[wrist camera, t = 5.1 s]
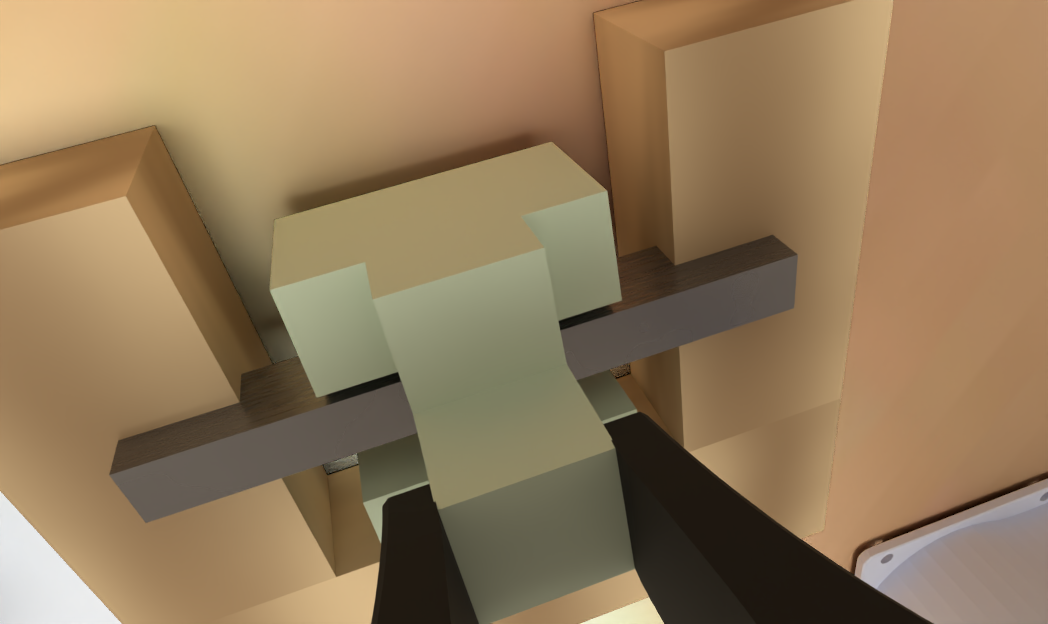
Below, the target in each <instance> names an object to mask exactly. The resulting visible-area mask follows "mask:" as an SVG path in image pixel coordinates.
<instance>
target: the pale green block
mask: <svg viewBox="0 0 1048 624" xmlns="http://www.w3.org/2000/svg"><path fill="white" fill-rule="evenodd" d="M270 292H271V295H272V297H273V299H274V302H275V304H276V306H277V308H278V311H279V313H280V315H281V317H282V320H283V322H284V324H285V327H286V329H287V331H288V333H289V336H290V338H291V340H292V342H293V345H294V347H295V349H296V352H297V354H298V356H299V358H300V361H301V363H302V365H303V367H304V370H305V372H306V374H307V377H308V379H309V381H310V383H311V386H312V388H313V390H314V393H315V395H316V397H321V396H324V395H327V394H330V393H333V392H336V391H339V390H342V389H346V388H349V387H352V386H355V385H358V384H361V383H364V382H368V381H371V380H374V379H377V378H380V377H383V376H386V375H390V374H393V373H396V372H398V373H399V376H400V379H401V382H402V384H403V387H404V390H405V393H406V396H407V399H408V401H409V404H410V407H411V410H412V413H413V416H414V420H415V425H416V429H417V433H416V434H413V435H410V436H407V437H404V438H401V439H398V440H395V441H392V442H389V443H386V444H383V445H380V446H377V447H374V448H371V449H368V450H365V451H362V452H359V453H357V455H358V464H359V472H360V481H361V490H362V498H363V504H364V506H365V508H366V511H367V513H368V515H369V518H370V520H371V522H372V524H373V527H374V529H375V531H376V533H377V536H378V538H379V540H380V543H381V538H382V506H383V504H384V503H385V502H386V500H387V499H388V498H389V497H392V496H395V495H398V494H401V493H404V492H407V491H409V490H412V489H415V488H418V487H421V486H424V485H427V484H430V488H431V492H432V497H433V501H434V502H435V501H436V505H437V509H438V512H439V515H440V518H441V520H442V523H443V526H444V529H445V531H446V534H447V537H448V540H449V542H450V545H451V548H452V551H453V553H454V556H455V559H456V562H457V564H458V567H459V570H460V573H461V575H462V578H463V581H464V584H465V586H466V589H467V592H468V595H469V597H470V600H471V603H472V606H473V608H474V611H475V614H476V617H477V619H478V622H479V624H490V623H493V622H496V621H498V620H501V619H504V618H506V617H509V616H512V615H514V614H517V613H520V612H522V611H525V610H528V609H530V608H533V607H536V606H538V605H541V604H544V603H546V602H549V601H552V600H554V599H557V598H560V597H562V596H565V595H568V594H570V593H573V592H575V591H578V590H581V589H583V588H586V587H589V586H591V585H594V584H597V583H599V582H602V581H605V580H607V579H610V578H613V577H615V576H618V575H621V574H623V573H626V572H629V571H631V570H634V569H635V566H634V560H633V554H632V548H631V541H630V535H629V529H628V523H627V517H626V511H625V504H624V498H623V492H622V486H621V480H620V473H619V467H618V461H617V455H616V449H615V447H614V445H613V443H612V442H611V440H612V438H611V436H610V435H609V433H608V431H607V430H606V428H605V427H604V425H603V424H605V423H608V422H611V421H614V420H617V419H619V418H622V417H625V416H628V415H631V414H634V413H637V409H636V407H635V406H634V404H633V403H632V402H631V400H630V399H629V397H628V396H627V394H626V393H625V391H624V390H623V389H622V387H621V386H620V384H619V383H618V381H617V380H616V378H615V377H614V375H613V374H612V373H611V371H610V370H606V371H603V372H600V373H597V374H594V375H591V376H588V377H585V378H582V379H579V380H576V378H575V377H574V375H573V373H572V372H571V370H570V369H569V367H568V365H567V363H566V357H565V352H564V347H563V342H562V337H561V332H560V327H559V320H562V319H565V318H568V317H571V316H575V315H578V314H581V313H584V312H587V311H590V310H593V309H597V308H600V307H603V306H606V305H609V304H612V303H615V302H619V301H622V296H621V289H620V282H619V274H618V267H617V259H616V252H615V245H614V237H613V230H612V222H611V215H610V208H609V200H608V193H607V190H606V189H605V188H604V187H603V186H601V185H600V184H599V183H598V182H597V181H596V180H595V179H594V178H592V177H591V176H590V175H589V174H588V173H587V172H586V171H584V170H583V169H582V168H581V167H580V166H579V165H578V164H577V163H575V162H574V161H573V160H572V159H571V158H570V157H569V156H568V155H566V154H565V153H564V152H563V151H562V150H561V149H560V148H559V147H557V146H556V145H555V144H554V143H553V142H548V143H545V144H541V145H538V146H534V147H531V148H527V149H523V150H520V151H516V152H513V153H509V154H506V155H502V156H499V157H495V158H492V159H488V160H484V161H481V162H477V163H474V164H470V165H467V166H463V167H460V168H456V169H452V170H449V171H445V172H442V173H438V174H435V175H431V176H428V177H424V178H421V179H417V180H413V181H410V182H406V183H403V184H399V185H396V186H392V187H389V188H385V189H381V190H378V191H374V192H371V193H367V194H364V195H360V196H357V197H353V198H349V199H346V200H342V201H339V202H335V203H332V204H328V205H325V206H321V207H318V208H314V209H310V210H307V211H303V212H300V213H296V214H293V215H289V216H286V217H282V218H278V219H275V220H274V232H273V247H272V261H271V276H270Z"/></svg>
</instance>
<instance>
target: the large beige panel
mask: <svg viewBox="0 0 1048 624" xmlns="http://www.w3.org/2000/svg"><path fill="white" fill-rule="evenodd" d="M893 1H894V0H642V1H638V2H634V3H630V4H626V5H622V6H618V7H614V8H611V9H607V10H603V11H599V12H595V13H593V15H594V24H595V34H596V43H597V53H598V63H599V72H600V82H601V91H602V101H603V111H604V120H605V130H606V139H607V149H608V159H609V168H610V178H611V187H612V197H613V207H614V216H615V226H616V235H617V245H618V255H619V257H618V258H616V259H617V267H618V274H619V282H620V289H621V296H622V301H619V302H615V303H612V304H609V305H606V306H603V307H600V308H597V309H593V310H590V311H587V312H584V313H581V314H578V315H575V316H571V317H568V318H565V319H562V320H559V327H560V332H561V337H562V342H563V347H564V352H565V357H566V363H567V365H568V367H569V369H570V370H571V372H572V373H573V375H574V377H575V378H576V380H579V379H582V378H585V377H588V376H591V375H594V374H597V373H600V372H603V371H606V370H609V369H612V368H615V367H618V366H621V365H624V364H627V363H630V370H631V374H630V375H627V376H624V377H621V378H618V379H616V380H617V381H618V383H619V384H620V386H621V387H622V389H623V390H624V391H625V393H626V394H627V396H628V397H629V399H630V400H631V402H632V403H633V404H634V406H635V407H636V409H637V412H642V413H644V414H646V415H648V416H649V417H650V418H651V419H652V420H653V421H654V422H655V423H657V424H658V425H659V426H660V427H661V428H662V429H663V430H664V431H665V432H666V433H668V434H669V435H670V436H671V437H672V438H673V439H674V440H675V441H677V442H678V443H679V444H680V445H681V446H682V447H683V448H685V449H686V450H687V451H688V452H689V453H690V454H692V455H693V456H694V457H695V458H696V459H698V460H699V461H700V462H701V463H702V464H704V465H705V466H706V467H707V468H708V469H710V470H711V471H712V472H713V473H714V474H716V475H717V476H718V477H719V478H721V479H722V480H723V481H724V482H726V483H727V484H728V485H729V486H731V487H732V488H733V489H734V490H736V491H737V492H738V493H740V494H741V495H742V496H744V497H745V498H746V499H747V500H749V501H750V502H751V503H753V504H754V505H755V506H757V507H758V508H759V509H761V510H762V511H763V512H765V513H766V514H767V515H769V516H770V517H771V518H772V519H774V520H775V521H776V522H778V523H779V524H781V525H782V526H783V527H785V528H786V529H788V530H789V531H790V532H792V533H793V534H794V535H796V536H797V537H799V538H800V539H802V538H805V537H808V536H810V535H813V534H815V533H818V532H821V531H823V530H824V526H825V519H826V511H827V504H828V496H829V488H830V481H831V473H832V465H833V458H834V450H835V443H836V435H837V427H838V420H839V412H840V405H841V397H842V389H843V382H844V374H845V366H846V359H847V351H848V344H849V336H850V328H851V321H852V313H853V306H854V298H855V290H856V283H857V275H858V267H859V260H860V252H861V245H862V237H863V229H864V222H865V214H866V207H867V199H868V191H869V184H870V176H871V168H872V161H873V153H874V146H875V138H876V130H877V123H878V115H879V107H880V100H881V92H882V85H883V77H884V69H885V62H886V54H887V47H888V39H889V31H890V24H891V16H892V8H893ZM416 433H417V429H416V425H415V420H414V416H413V413H412V410H411V407H410V404H409V401H408V399H407V396H406V393H405V390H404V387H403V384H402V382H401V379H400V376H399V373H398V372H396V373H393V374H390V375H386V376H383V377H380V378H377V379H374V380H371V381H368V382H364V383H361V384H358V385H355V386H352V387H349V388H346V389H342V390H339V391H336V392H333V393H330V394H327V395H324V396H321V397H316V395H315V393H314V390H313V388H312V386H311V383H310V381H309V379H308V377H307V374H306V372H305V370H304V367H303V365H302V363H301V361H300V358H299V356H297V357H294V358H291V359H288V360H284V361H281V362H278V363H275V364H272V362H271V360H270V358H269V356H268V354H267V352H266V350H265V348H264V346H263V344H262V342H261V340H260V338H259V336H258V334H257V332H256V330H255V328H254V325H253V323H252V321H251V319H250V317H249V315H248V313H247V311H246V309H245V307H244V305H243V303H242V301H241V299H240V297H239V295H238V293H237V291H236V289H235V287H234V285H233V283H232V281H231V279H230V277H229V275H228V273H227V271H226V269H225V267H224V265H223V263H222V261H221V259H220V257H219V255H218V253H217V251H216V249H215V247H214V244H213V242H212V240H211V238H210V236H209V234H208V232H207V230H206V228H205V226H204V224H203V222H202V220H201V218H200V216H199V214H198V212H197V210H196V208H195V206H194V204H193V202H192V200H191V198H190V196H189V194H188V192H187V190H186V188H185V186H184V184H183V182H182V180H181V178H180V176H179V174H178V172H177V170H176V168H175V165H174V163H173V161H172V159H171V157H170V155H169V153H168V151H167V149H166V147H165V145H164V143H163V141H162V139H161V137H160V135H159V133H158V131H157V129H156V127H155V126H151V127H148V128H144V129H140V130H136V131H132V132H128V133H124V134H120V135H116V136H113V137H109V138H105V139H101V140H97V141H93V142H89V143H85V144H81V145H78V146H74V147H70V148H66V149H62V150H58V151H54V152H50V153H46V154H43V155H39V156H35V157H31V158H27V159H23V160H19V161H15V162H11V163H8V164H4V165H0V491H1V492H2V493H3V494H4V496H5V497H6V498H7V499H8V500H9V501H10V502H11V503H12V504H13V505H14V506H15V508H16V509H17V510H18V511H19V512H20V513H21V514H22V515H23V516H24V517H25V518H26V520H27V521H28V522H29V523H30V524H31V525H32V526H33V527H34V528H35V529H36V530H37V532H38V533H39V534H40V535H41V536H42V537H43V538H44V539H45V540H46V541H47V542H48V544H49V545H50V546H51V547H52V548H53V549H54V550H55V551H56V552H57V553H58V554H59V556H60V557H61V558H62V559H63V560H64V561H65V562H66V563H67V564H68V565H69V566H70V567H71V569H72V570H73V571H74V572H75V573H76V574H77V575H78V576H79V577H80V578H81V579H82V581H83V582H84V583H85V584H86V585H87V586H88V587H89V588H90V589H91V590H92V591H93V593H94V594H95V595H96V596H97V597H98V598H99V599H100V600H101V601H102V602H103V603H104V605H105V606H106V607H107V608H108V609H109V610H110V611H111V612H112V613H113V614H114V615H115V617H116V618H117V619H118V620H119V621H120V622H121V623H122V624H371V621H372V615H373V609H374V603H375V596H376V588H377V580H378V572H379V563H380V552H381V543H380V540H379V538H378V536H377V533H376V531H375V529H374V527H373V524H372V522H371V520H370V518H369V515H368V513H367V511H366V508H365V506H364V504H363V498H362V490H361V481H360V472H359V465H357V466H354V467H351V468H348V469H345V470H342V471H339V472H336V473H333V474H330V475H327V473H326V471H325V469H324V467H323V464H326V463H329V462H332V461H335V460H338V459H341V458H344V457H347V456H350V455H353V454H356V453H359V452H362V451H365V450H368V449H371V448H374V447H377V446H380V445H383V444H386V443H389V442H392V441H395V440H398V439H401V438H404V437H407V436H410V435H413V434H416ZM648 597H649V596H648V594H647V592H646V590H645V588H644V587H643V585H642V583H641V581H640V579H639V576H638V574H637V572H636V570H635V569H634V570H631V571H629V572H626V573H623V574H621V575H618V576H615V577H613V578H610V579H607V580H605V581H602V582H599V583H597V584H594V585H591V586H589V587H586V588H583V589H581V590H578V591H575V592H573V593H570V594H568V595H565V596H562V597H560V598H557V599H554V600H552V601H549V602H546V603H544V604H541V605H538V606H536V607H533V608H530V609H528V610H525V611H522V612H520V613H517V614H514V615H512V616H509V617H506V618H504V619H501V620H498V621H496V622H493V623H490V624H580V623H582V622H585V621H588V620H590V619H593V618H595V617H598V616H601V615H603V614H606V613H608V612H611V611H614V610H616V609H619V608H622V607H624V606H627V605H629V604H632V603H635V602H637V601H640V600H643V599H645V598H648Z"/></svg>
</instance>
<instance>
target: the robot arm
mask: <svg viewBox="0 0 1048 624" xmlns="http://www.w3.org/2000/svg"><path fill="white" fill-rule="evenodd" d="M603 425H604V427H605V428H606V430H607V431H608V433H609V435H610V436H611V438H612V440H611V442H612V443H613V445H614V447H615V449H616V455H617V461H618V467H619V473H620V480H621V486H622V492H623V498H624V504H625V511H626V517H627V523H628V529H629V535H630V541H631V548H632V554H633V560H634V566H635V570H636V572H637V574H638V576H639V579H640V581H641V583H642V585H643V587H644V588H645V590H646V592H647V594H648V596H649V597H650V599H651V601H652V603H653V604H654V606H655V608H656V610H657V612H658V613H659V615H660V617H661V619H662V620H663V622H664V624H1048V478H1047V479H1045V480H1042V481H1039V482H1037V483H1034V484H1032V485H1029V486H1027V487H1024V488H1021V489H1019V490H1016V491H1014V492H1011V493H1009V494H1006V495H1003V496H1001V497H998V498H996V499H993V500H991V501H988V502H985V503H983V504H980V505H978V506H975V507H973V508H970V509H967V510H965V511H962V512H960V513H957V514H955V515H952V516H950V517H947V518H944V519H942V520H939V521H937V522H934V523H932V524H929V525H926V526H924V527H921V528H919V529H916V530H914V531H911V532H908V533H906V534H903V535H901V536H898V537H896V538H893V539H890V540H888V541H885V542H883V543H880V544H878V545H875V546H872V547H870V548H868V549H866V550H864V551H863V552H862V553H861V554H860V555H859V557H858V559H857V564H856V570H855V575H853V574H852V573H850V572H849V571H847V570H846V569H844V568H843V567H841V566H840V565H838V564H836V563H835V562H834V561H832V560H831V559H829V558H828V557H826V556H825V555H823V554H822V553H820V552H819V551H818V550H816V549H815V548H813V547H812V546H810V545H809V544H807V543H806V542H804V541H803V540H801V539H800V538H799V537H797V536H796V535H794V534H793V533H792V532H790V531H789V530H788V529H786V528H785V527H783V526H782V525H781V524H779V523H778V522H776V521H775V520H774V519H772V518H771V517H770V516H769V515H767V514H766V513H765V512H763V511H762V510H761V509H759V508H758V507H757V506H755V505H754V504H753V503H751V502H750V501H749V500H747V499H746V498H745V497H744V496H742V495H741V494H740V493H738V492H737V491H736V490H734V489H733V488H732V487H731V486H729V485H728V484H727V483H726V482H724V481H723V480H722V479H721V478H719V477H718V476H717V475H716V474H714V473H713V472H712V471H711V470H710V469H708V468H707V467H706V466H705V465H704V464H702V463H701V462H700V461H699V460H698V459H696V458H695V457H694V456H693V455H692V454H690V453H689V452H688V451H687V450H686V449H685V448H683V447H682V446H681V445H680V444H679V443H678V442H677V441H675V440H674V439H673V438H672V437H671V436H670V435H669V434H668V433H666V432H665V431H664V430H663V429H662V428H661V427H660V426H659V425H658V424H657V423H655V422H654V421H653V420H652V419H651V418H650V417H649V416H648V415H646V414H644V413H642V412H637V413H634V414H631V415H628V416H625V417H622V418H619V419H617V420H614V421H611V422H608V423H605V424H603ZM371 624H479V622H478V619H477V617H476V614H475V611H474V608H473V606H472V603H471V600H470V597H469V595H468V592H467V589H466V586H465V584H464V581H463V578H462V575H461V573H460V570H459V567H458V564H457V562H456V559H455V556H454V553H453V551H452V548H451V545H450V542H449V540H448V537H447V534H446V531H445V529H444V526H443V523H442V520H441V518H440V515H439V512H438V509H437V505H436V501H435V502H434V501H433V497H432V492H431V488H430V484H427V485H424V486H421V487H418V488H415V489H412V490H409V491H407V492H404V493H401V494H398V495H395V496H392V497H389V498H388V499H387V500H386V502H385V503H384V504H383V506H382V538H381V552H380V563H379V572H378V580H377V588H376V596H375V603H374V609H373V615H372V621H371Z"/></svg>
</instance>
